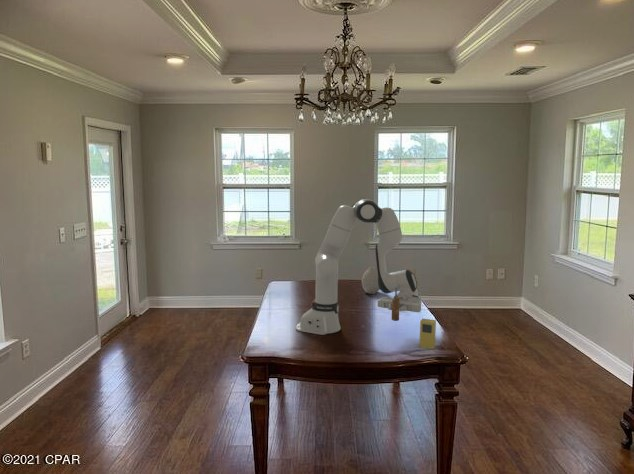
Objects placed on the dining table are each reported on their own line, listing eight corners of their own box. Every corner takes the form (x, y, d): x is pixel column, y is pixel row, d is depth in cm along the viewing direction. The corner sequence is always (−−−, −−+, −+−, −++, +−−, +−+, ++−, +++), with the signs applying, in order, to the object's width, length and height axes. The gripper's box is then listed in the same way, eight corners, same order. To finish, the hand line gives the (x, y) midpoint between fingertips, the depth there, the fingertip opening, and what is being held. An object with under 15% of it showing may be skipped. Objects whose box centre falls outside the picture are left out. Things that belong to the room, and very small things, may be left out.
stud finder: (421, 344, 217) (422, 318, 215) (435, 346, 215) (435, 320, 213) (419, 347, 214) (420, 321, 212) (433, 349, 211) (433, 323, 209)
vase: (365, 295, 303) (365, 269, 301) (359, 290, 316) (359, 265, 313) (384, 294, 306) (384, 269, 303) (377, 289, 318) (378, 264, 316)
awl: (391, 320, 218) (392, 288, 216) (391, 318, 222) (392, 286, 219) (398, 321, 218) (399, 288, 215) (399, 318, 221) (400, 287, 219)
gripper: (382, 292, 234) (373, 299, 222) (424, 297, 226) (417, 305, 213) (382, 305, 235) (373, 312, 223) (423, 310, 227) (416, 318, 214)
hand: (395, 309), depth 218 cm, fingers closed on awl, 3 cm apart
